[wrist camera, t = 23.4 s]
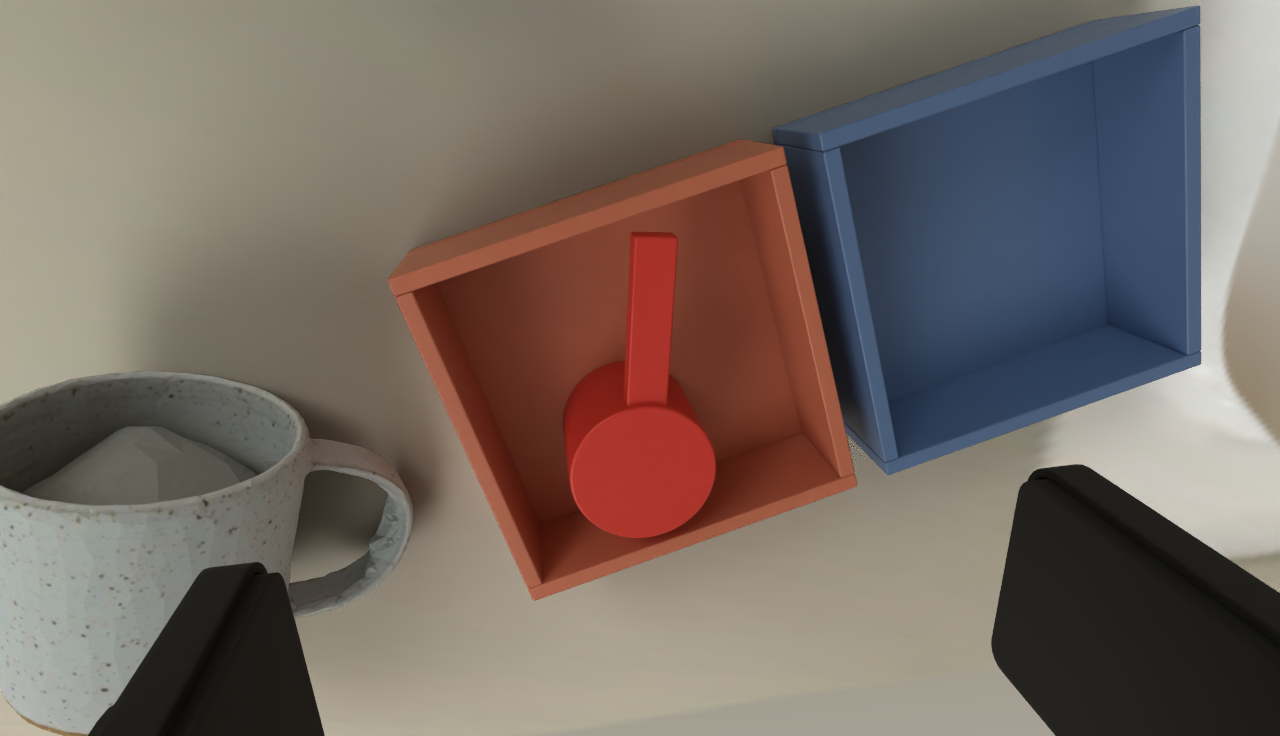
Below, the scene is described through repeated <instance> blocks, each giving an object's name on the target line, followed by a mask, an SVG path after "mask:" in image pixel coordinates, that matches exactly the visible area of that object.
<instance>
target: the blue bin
mask: <svg viewBox="0 0 1280 736" xmlns="http://www.w3.org/2000/svg"><path fill="white" fill-rule="evenodd" d="M1199 24H1200V6H1192V7H1184V8H1177V9H1170V10H1163V11H1156V12H1149V13H1142V14H1135V15H1128V16H1121V17H1113V18H1106V19H1099V20H1092V21H1089V22H1087V23H1084V24H1081V25H1078V26H1075V27H1072V28H1069V29H1066V30H1063V31H1060V32H1057V33H1054V34H1051V35H1048V36H1045V37H1042V38H1039V39H1036V40H1033V41H1030V42H1027V43H1024V44H1021V45H1018V46H1015V47H1012V48H1009V49H1006V50H1003V51H1000V52H997V53H994V54H991V55H989V56H986V57H983V58H980V59H977V60H974V61H971V62H968V63H965V64H962V65H959V66H956V67H953V68H950V69H947V70H944V71H941V72H938V73H935V74H932V75H929V76H926V77H923V78H920V79H917V80H914V81H911V82H908V83H905V84H902V85H899V86H896V87H893V88H891V89H888V90H885V91H882V92H879V93H876V94H873V95H870V96H867V97H864V98H861V99H858V100H855V101H852V102H849V103H846V104H843V105H840V106H837V107H834V108H831V109H828V110H825V111H822V112H819V113H816V114H813V115H810V116H807V117H804V118H801V119H798V120H795V121H793V122H790V123H787V124H784V125H781V126H778V127H775V128H773V129H772V131H773V136H774V140H775V145H777V146H783V148H784V152H785V157H786V161H787V163H786V164H785V165H787V166H788V170H789V175H790V179H791V184H792V189H793V193H794V198H795V202H796V207H797V211H798V216H799V221H800V225H801V230H802V234H803V239H804V243H805V248H806V252H807V257H808V262H809V266H810V271H811V275H812V280H813V284H814V289H815V294H816V298H817V303H818V307H819V312H820V316H821V321H822V325H823V330H824V335H825V339H826V344H827V348H828V353H829V357H830V362H831V367H832V371H833V376H834V380H835V385H836V389H837V394H838V398H839V403H840V408H841V412H842V417H843V421H844V426H845V430H846V433H847V434H848V435H849V436H850V437H851V438H852V439H853V440H854V441H855V442H856V443H857V444H858V445H859V446H860V447H861V448H862V449H863V451H864V452H865V453H866V454H867V455H868V456H869V457H870V458H871V459H872V460H873V461H874V462H875V463H876V464H877V465H878V466H879V467H880V468H881V469H882V470H883V471H884V472H885V473H886V474H887V475H890V474H893V473H896V472H899V471H901V470H904V469H907V468H910V467H913V466H916V465H918V464H921V463H924V462H927V461H930V460H932V459H935V458H938V457H941V456H944V455H947V454H949V453H952V452H955V451H958V450H961V449H963V448H966V447H969V446H972V445H975V444H978V443H980V442H983V441H986V440H989V439H992V438H994V437H997V436H1000V435H1003V434H1006V433H1009V432H1011V431H1014V430H1017V429H1020V428H1023V427H1025V426H1028V425H1031V424H1034V423H1037V422H1040V421H1042V420H1045V419H1048V418H1051V417H1054V416H1056V415H1059V414H1062V413H1065V412H1068V411H1071V410H1073V409H1076V408H1079V407H1082V406H1085V405H1087V404H1090V403H1093V402H1096V401H1099V400H1102V399H1104V398H1107V397H1110V396H1113V395H1116V394H1118V393H1121V392H1124V391H1127V390H1130V389H1133V388H1135V387H1138V386H1141V385H1144V384H1147V383H1149V382H1152V381H1155V380H1158V379H1161V378H1164V377H1166V376H1169V375H1172V374H1175V373H1178V372H1180V371H1183V370H1186V369H1189V368H1192V367H1195V366H1197V365H1200V364H1201V352H1200V350H1201V132H1200V26H1199Z"/></svg>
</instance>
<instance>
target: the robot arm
mask: <svg viewBox="0 0 1280 736" xmlns="http://www.w3.org/2000/svg"><path fill="white" fill-rule="evenodd" d="M991 645H992V652H993V655H994V658H995V661H996V663H997V665H998V666H999V668H1000V669H1001V671H1002V672H1003V673H1004V674H1005V676H1006V677H1007V678H1008V679H1009V680H1010V682H1011V683H1012V684H1013V685H1014V686H1015V688H1016V689H1017V690H1018V691H1019V692H1020V693H1021V695H1022V696H1023V697H1024V698H1025V700H1026V701H1027V702H1028V703H1029V704H1030V705H1031V707H1032V708H1033V709H1034V710H1035V711H1036V713H1037V714H1038V715H1039V716H1040V717H1041V719H1042V720H1043V721H1044V722H1045V723H1046V724H1047V726H1048V727H1049V728H1050V729H1051V731H1052V732H1053V733H1054V734H1055V735H1056V736H1280V593H1279V592H1277V591H1276V590H1274V589H1273V588H1271V587H1269V586H1268V585H1266V584H1265V583H1263V582H1262V581H1260V580H1259V579H1257V578H1256V577H1254V576H1253V575H1251V574H1250V573H1248V572H1247V571H1245V570H1244V569H1242V568H1241V567H1239V566H1238V565H1236V564H1235V563H1233V562H1232V561H1230V560H1229V559H1227V558H1226V557H1224V556H1222V555H1221V554H1219V553H1218V552H1216V551H1215V550H1213V549H1212V548H1210V547H1209V546H1207V545H1206V544H1204V543H1203V542H1201V541H1200V540H1198V539H1197V538H1195V537H1194V536H1192V535H1191V534H1189V533H1188V532H1186V531H1185V530H1183V529H1182V528H1180V527H1178V526H1177V525H1175V524H1174V523H1172V522H1171V521H1169V520H1168V519H1166V518H1165V517H1163V516H1162V515H1160V514H1159V513H1157V512H1156V511H1154V510H1153V509H1151V508H1150V507H1148V506H1147V505H1145V504H1144V503H1142V502H1141V501H1139V500H1138V499H1136V498H1134V497H1133V496H1131V495H1130V494H1128V493H1127V492H1125V491H1124V490H1122V489H1121V488H1119V487H1118V486H1116V485H1115V484H1113V483H1112V482H1110V481H1109V480H1107V479H1106V478H1104V477H1103V476H1101V475H1100V474H1098V473H1097V472H1095V471H1094V470H1092V469H1090V468H1089V467H1086V466H1084V465H1076V464H1075V465H1067V466H1058V467H1050V468H1041V469H1038V470H1036V471H1034V472H1033V473H1032V474H1031V475H1030V477H1029V479H1028V481H1027V482H1025V483H1023V484H1022V486H1021V487H1020V490H1019V493H1018V498H1017V503H1016V509H1015V514H1014V520H1013V525H1012V531H1011V536H1010V542H1009V547H1008V552H1007V558H1006V563H1005V569H1004V574H1003V580H1002V585H1001V591H1000V596H999V602H998V607H997V613H996V618H995V623H994V629H993V634H992V643H991ZM88 736H325V735H324V731H323V728H322V724H321V720H320V716H319V712H318V708H317V704H316V700H315V697H314V693H313V689H312V685H311V681H310V677H309V673H308V670H307V666H306V662H305V658H304V654H303V650H302V646H301V642H300V639H299V635H298V631H297V627H296V623H295V619H294V615H293V612H292V608H291V604H290V600H289V596H288V592H287V588H286V584H285V581H284V579H283V577H282V575H281V574H280V573H278V572H275V573H268V572H267V570H266V568H265V567H264V565H263V564H262V563H260V562H252V563H243V564H235V565H226V566H218V567H210V568H206V569H203V570H202V571H201V572H200V574H199V575H198V576H197V577H196V579H195V581H194V582H193V584H192V585H191V587H190V588H189V590H188V591H187V593H186V594H185V596H184V597H183V599H182V601H181V602H180V604H179V605H178V607H177V608H176V610H175V611H174V613H173V614H172V616H171V618H170V619H169V621H168V622H167V624H166V625H165V627H164V628H163V630H162V631H161V633H160V635H159V636H158V638H157V639H156V641H155V642H154V644H153V645H152V647H151V648H150V650H149V651H148V653H147V655H146V656H145V658H144V659H143V661H142V662H141V664H140V665H139V667H138V668H137V670H136V672H135V673H134V675H133V676H132V678H131V679H130V681H129V682H128V684H127V685H126V687H125V689H124V690H123V692H122V693H121V695H120V696H119V698H118V699H117V701H116V702H115V704H114V705H113V706H111V707H109V708H108V709H107V710H106V711H105V712H104V714H103V715H102V716H101V717H100V718H99V720H98V721H97V722H96V724H95V725H94V727H93V728H92V730H91V731H90V733H89V734H88Z"/></svg>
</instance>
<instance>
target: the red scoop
mask: <svg viewBox="0 0 1280 736" xmlns="http://www.w3.org/2000/svg"><path fill="white" fill-rule="evenodd" d="M677 252H678V237H677V236H675V235H674V234H673V233H671V232H632V233H631V238H630V260H629V282H628V304H627V326H626V348H625V361H620V362H615V363H611V364H608V365H605V366H603V367H600V368H598V369H596V370H595V371H593V372H591V373H590V374H588V375H587V376H586V377H585V378H584V379H582V380H581V382H580V383H579V384H578V385H577V386H576V387H575V389H574V390H573V391H572V393H571V395H570V397H569V398H568V401H567V403H566V406H565V410H564V414H563V432H564V440H565V448H566V456H567V465H568V473H569V481H570V487H571V492H572V495H573V498H574V501H575V502H576V504H577V506H578V508H579V509H580V511H581V512H582V513H583V515H584V516H585V517H586V518H587V519H588V520H589V521H590V522H592V523H593V524H594V525H596V526H597V527H599V528H601V529H602V530H604V531H606V532H609V533H611V534H614V535H618V536H622V537H628V538H646V537H653V536H657V535H661V534H664V533H667V532H669V531H671V530H674V529H676V528H678V527H679V526H681V525H683V524H684V523H685V522H687V521H688V520H689V519H691V518H692V517H693V516H694V515H695V514H696V513H697V512H698V511H699V510H700V508H701V507H702V506H703V505H704V503H705V501H706V500H707V498H708V496H709V494H710V492H711V490H712V487H713V484H714V481H715V475H716V457H715V452H714V448H713V446H712V443H711V441H710V439H709V437H708V435H707V433H706V431H705V430H704V428H703V426H702V424H701V422H700V421H699V419H698V417H697V415H696V413H695V412H694V410H693V408H692V406H691V404H690V402H689V401H688V399H687V397H686V395H685V393H684V392H683V390H682V388H681V387H680V385H679V384H678V383H677V381H676V380H675V379H674V378H673V377H672V376H671V375H669V370H670V355H671V341H672V326H673V311H674V296H675V282H676V267H677Z"/></svg>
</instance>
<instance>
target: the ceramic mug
mask: <svg viewBox="0 0 1280 736" xmlns="http://www.w3.org/2000/svg"><path fill="white" fill-rule="evenodd" d="M318 470H330V471H336V472H339V473H344V474H351V475H355V476H359V477H362V478H365V479H369V480H372V481H374V482H376V483H377V484H378V485H379V486H380V487H381V488H383V489H384V490H385V491H387V493H388V495H387V498H386V502H385V506H384V510H383V514H382V519H381V522H380V524H379V527H378V529H377V532H376V534H375V535H374V536H373V537H372V538H371V539H370V541H369V551H368V552H367V553H366V554H365V555H364V556H362V557H361V558H359V559H358V560H357V561H355V562H353V563H352V564H350V565H349V566H347V567H345V568H343V569H341V570H338V571H336V572H332V573H329V574H328V575H326V576H324V577H319V578H314V579H309V580H306V581H300V582H294V583H289V580H290V565H291V559H292V552H293V547H294V541H295V535H296V531H297V525H298V517H299V511H300V506H301V499H302V495H303V490H304V479H305V477H306V475H307V474H308V473H309V472H312V471H318ZM412 526H413V503H412V500H411V498H410V496H409V493H408V492H407V490H406V488H405V486H404V484H403V482H402V480H401V478H400V476H399V475H398V473H397V471H396V470H395V469H394V468H393V467H392V466H391V465H390V464H389V463H388V462H387V461H386V460H384V459H383V458H382V457H381V456H380V455H378V454H376V453H374V452H373V451H371V450H368V449H366V448H363V447H360V446H356V445H351V444H347V443H342V442H337V441H332V440H326V439H313V438H310V435H309V431H308V428H307V426H306V423H305V421H304V419H303V418H302V416H301V415H300V414H299V412H298V411H297V410H296V409H294V408H293V407H292V406H291V405H290V404H289V403H288V402H286V401H284V400H282V399H280V398H279V397H277V396H275V395H273V394H272V393H270V392H267V391H265V390H262V389H260V388H257V387H254V386H251V385H248V384H244V383H241V382H236V381H232V380H227V379H223V378H219V377H214V376H206V375H199V374H192V373H179V372H158V371H138V372H131V373H113V374H105V375H97V376H89V377H82V378H76V379H70V380H67V381H64V382H61V383H57V384H54V385H50V386H47V387H43V388H39V389H36V390H34V391H31V392H29V393H26V394H23V395H21V396H18V397H16V398H14V399H12V400H9V401H7V402H5V403H3V404H1V405H0V690H1V692H2V694H3V696H4V698H5V699H6V701H7V702H8V704H9V705H10V706H11V707H12V708H13V709H14V710H15V711H16V712H17V713H18V714H19V715H20V716H21V717H22V718H23V719H25V720H26V721H27V722H28V723H30V724H33V725H35V726H37V727H39V728H41V729H44V730H47V731H50V732H53V733H56V734H60V735H63V736H88V734H89V733H90V731H91V730H92V728H93V727H94V725H95V724H96V722H97V721H98V720H99V718H100V717H101V716H102V715H103V714H104V712H105V711H106V710H107V709H108V708H109V707H111V706H113V705H114V704H115V702H116V701H117V699H118V698H119V696H120V695H121V693H122V692H123V690H124V689H125V687H126V685H127V684H128V682H129V681H130V679H131V678H132V676H133V675H134V673H135V672H136V670H137V668H138V667H139V665H140V664H141V662H142V661H143V659H144V658H145V656H146V655H147V653H148V651H149V650H150V648H151V647H152V645H153V644H154V642H155V641H156V639H157V638H158V636H159V635H160V633H161V631H162V630H163V628H164V627H165V625H166V624H167V622H168V621H169V619H170V618H171V616H172V614H173V613H174V611H175V610H176V608H177V607H178V605H179V604H180V602H181V601H182V599H183V597H184V596H185V594H186V593H187V591H188V590H189V588H190V587H191V585H192V584H193V582H194V581H195V579H196V577H197V576H198V575H199V574H200V572H201V571H202V570H203V569H206V568H210V567H218V566H226V565H235V564H243V563H252V562H260V563H262V564H263V565H264V567H265V568H266V570H267V572H268V573H275V572H278V573H280V574H281V575H282V577H283V579H284V581H285V584H286V588H287V592H288V596H289V600H290V604H291V608H292V612H293V615H294V617H303V616H308V615H314V614H318V613H321V612H325V611H329V610H333V609H336V608H338V607H341V606H343V605H345V604H347V603H350V602H352V601H354V600H357V599H359V598H361V597H362V596H364V595H366V594H367V593H368V592H369V591H371V590H372V589H373V588H375V587H376V586H377V585H378V584H380V583H381V582H382V581H383V580H384V579H385V578H386V577H387V576H388V575H389V574H390V573H391V572H392V571H393V569H394V568H395V566H396V565H397V563H398V562H399V560H400V559H401V557H402V555H403V553H404V551H405V549H406V547H407V544H408V541H409V538H410V534H411V530H412Z"/></svg>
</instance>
